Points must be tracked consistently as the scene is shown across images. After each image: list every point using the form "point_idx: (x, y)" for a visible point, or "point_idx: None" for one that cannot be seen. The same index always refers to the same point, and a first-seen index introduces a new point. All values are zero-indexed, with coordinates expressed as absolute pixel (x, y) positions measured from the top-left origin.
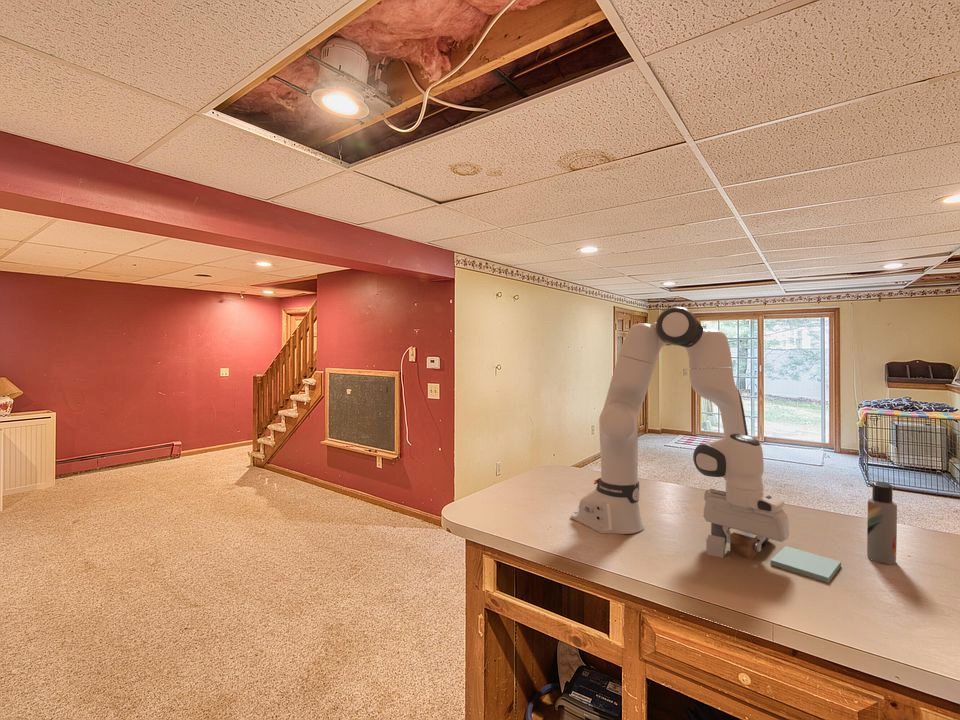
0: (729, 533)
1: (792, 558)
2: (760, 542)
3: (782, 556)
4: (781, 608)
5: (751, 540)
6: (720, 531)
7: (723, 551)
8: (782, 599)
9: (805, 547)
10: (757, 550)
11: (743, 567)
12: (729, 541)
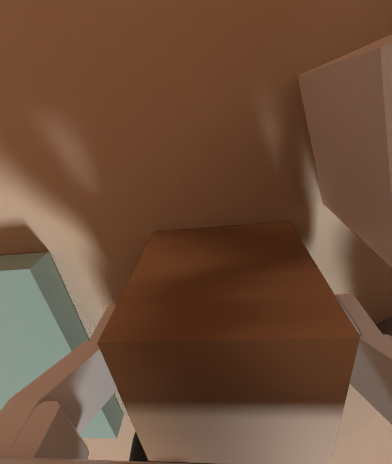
0: (377, 383)
1: (8, 359)
2: (51, 373)
3: (43, 350)
4: None
5: (110, 357)
6: None
7: (321, 100)
8: None
9: (106, 459)
10: (114, 306)
11: (91, 37)
12: None
